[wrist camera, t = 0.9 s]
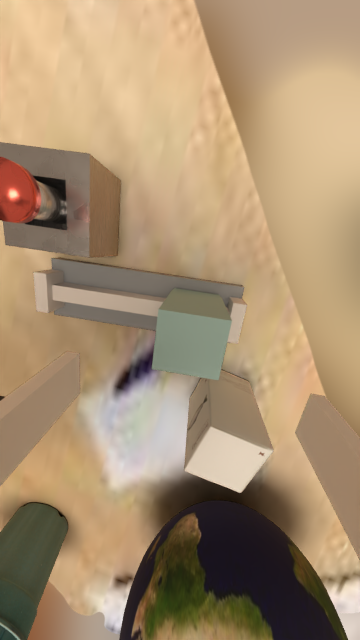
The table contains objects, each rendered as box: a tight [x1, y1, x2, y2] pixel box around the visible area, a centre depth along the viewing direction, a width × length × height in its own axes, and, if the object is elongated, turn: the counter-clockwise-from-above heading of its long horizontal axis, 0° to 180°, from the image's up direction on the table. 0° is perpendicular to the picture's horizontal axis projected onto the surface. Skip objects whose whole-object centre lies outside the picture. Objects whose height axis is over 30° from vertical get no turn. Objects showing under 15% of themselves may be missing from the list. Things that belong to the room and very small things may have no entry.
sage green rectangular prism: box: [152, 288, 232, 380], centre depth 24 cm, size 6×6×12 cm
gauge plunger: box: [0, 157, 67, 224], centre depth 20 cm, size 4×4×7 cm
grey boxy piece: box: [0, 142, 121, 258], centre depth 25 cm, size 9×9×8 cm
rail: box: [33, 258, 247, 344], centre depth 29 cm, size 26×8×5 cm, turn 82°
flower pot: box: [0, 503, 68, 640], centre depth 42 cm, size 16×16×16 cm
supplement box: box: [184, 370, 274, 493], centre depth 29 cm, size 7×7×13 cm
